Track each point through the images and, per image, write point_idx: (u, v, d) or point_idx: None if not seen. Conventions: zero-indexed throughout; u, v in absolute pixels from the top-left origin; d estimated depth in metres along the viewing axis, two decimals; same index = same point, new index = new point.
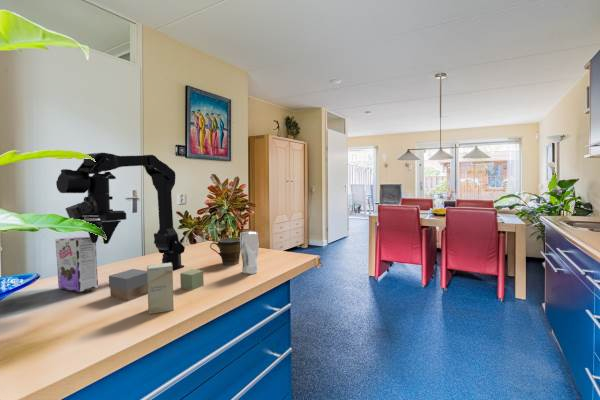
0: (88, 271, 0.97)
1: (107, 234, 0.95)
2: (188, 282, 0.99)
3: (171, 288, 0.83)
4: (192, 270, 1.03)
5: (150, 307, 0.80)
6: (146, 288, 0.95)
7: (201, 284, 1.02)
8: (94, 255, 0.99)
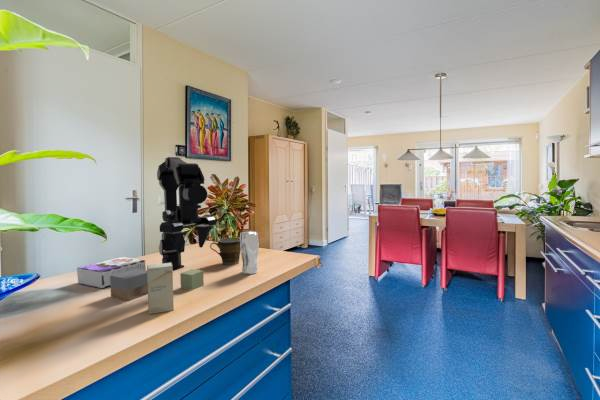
0: None
1: (176, 244, 0.96)
2: (188, 282, 0.99)
3: (171, 288, 0.83)
4: (192, 270, 1.03)
5: (150, 307, 0.80)
6: (146, 288, 0.95)
7: (201, 284, 1.02)
8: None
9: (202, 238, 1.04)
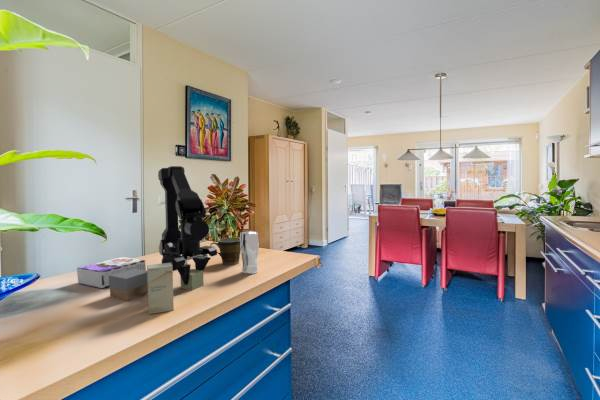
0: None
1: (183, 276, 0.98)
2: (188, 282, 0.99)
3: (171, 288, 0.83)
4: (192, 270, 1.03)
5: (150, 307, 0.80)
6: (146, 288, 0.95)
7: (201, 284, 1.02)
8: None
9: None
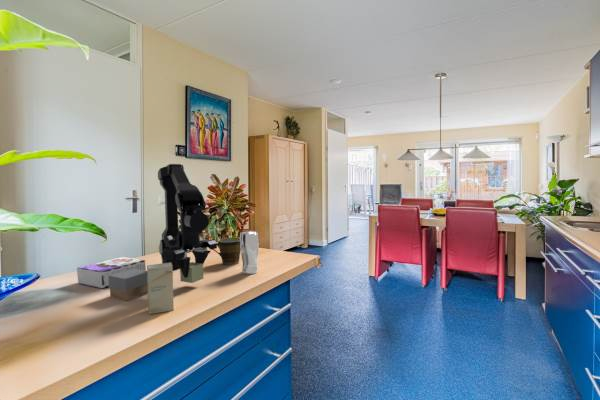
0: None
1: (183, 268, 0.98)
2: (188, 275, 0.99)
3: (171, 288, 0.83)
4: (192, 263, 1.03)
5: (150, 307, 0.80)
6: (146, 288, 0.95)
7: (201, 277, 1.02)
8: None
9: None
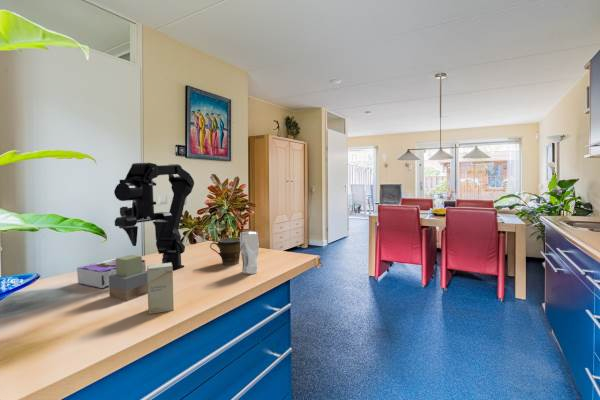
0: None
1: (131, 237, 1.04)
2: (123, 268, 0.92)
3: (171, 288, 0.83)
4: (130, 255, 0.96)
5: (150, 307, 0.80)
6: (145, 288, 0.95)
7: (139, 270, 0.95)
8: None
9: (158, 232, 1.12)
